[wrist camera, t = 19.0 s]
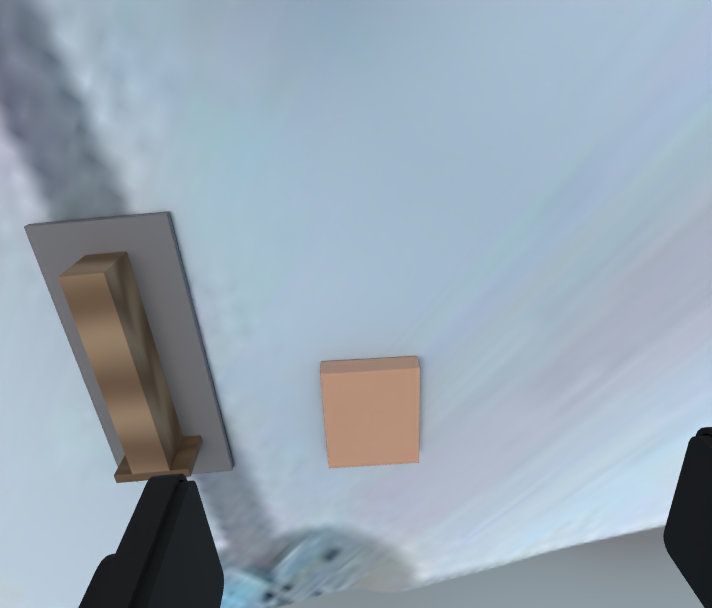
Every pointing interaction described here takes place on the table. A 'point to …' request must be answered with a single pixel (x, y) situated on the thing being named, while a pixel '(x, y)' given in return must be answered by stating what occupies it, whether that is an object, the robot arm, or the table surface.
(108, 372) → the wooden beam
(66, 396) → the table surface
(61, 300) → the tool mat
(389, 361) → the tile
